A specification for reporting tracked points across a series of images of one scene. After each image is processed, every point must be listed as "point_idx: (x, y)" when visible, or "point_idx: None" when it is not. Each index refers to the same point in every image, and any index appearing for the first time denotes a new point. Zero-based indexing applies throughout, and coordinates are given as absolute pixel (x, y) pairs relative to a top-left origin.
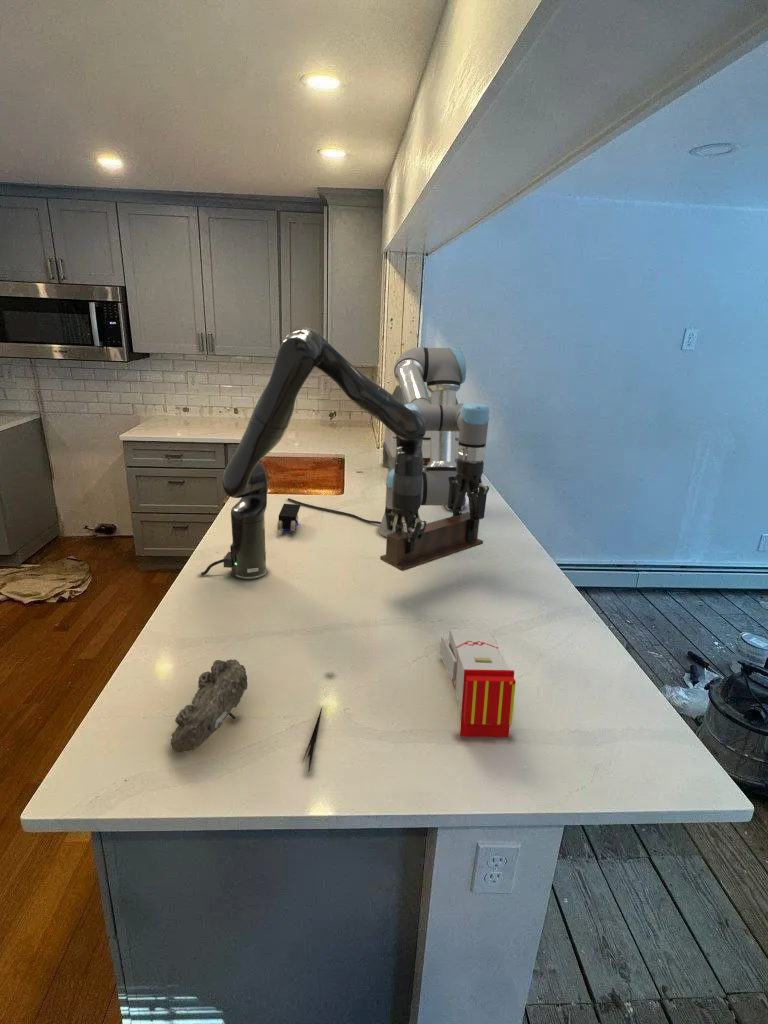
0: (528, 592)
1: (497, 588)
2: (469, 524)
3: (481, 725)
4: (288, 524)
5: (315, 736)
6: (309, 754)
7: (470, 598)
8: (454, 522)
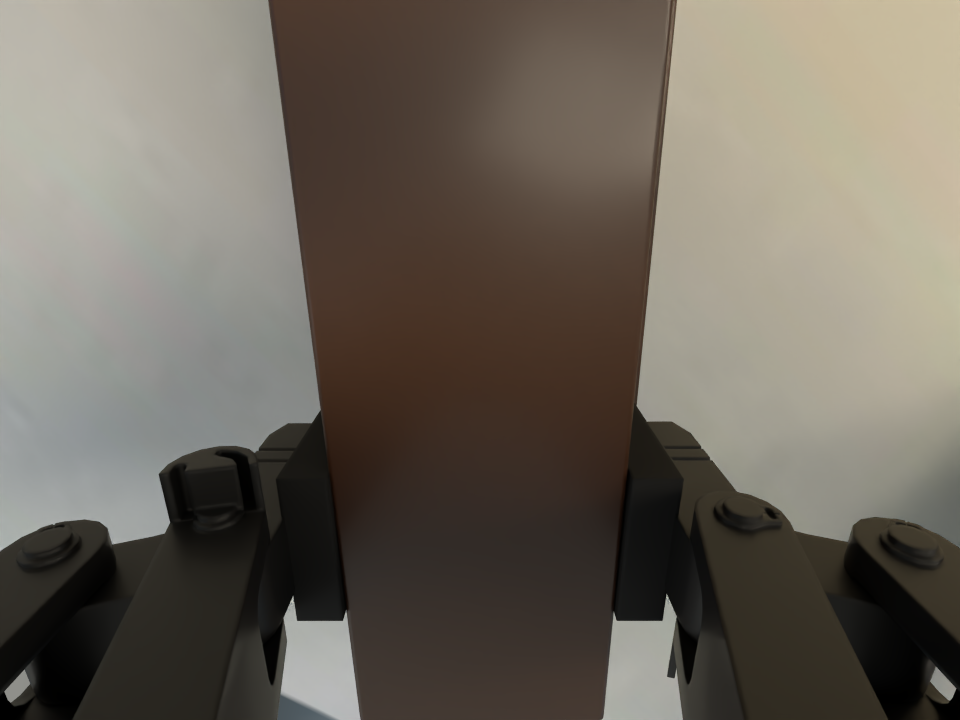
0: (130, 439)
1: (240, 344)
2: (303, 439)
3: None
4: None
5: None
6: None
7: (212, 107)
8: (336, 116)
